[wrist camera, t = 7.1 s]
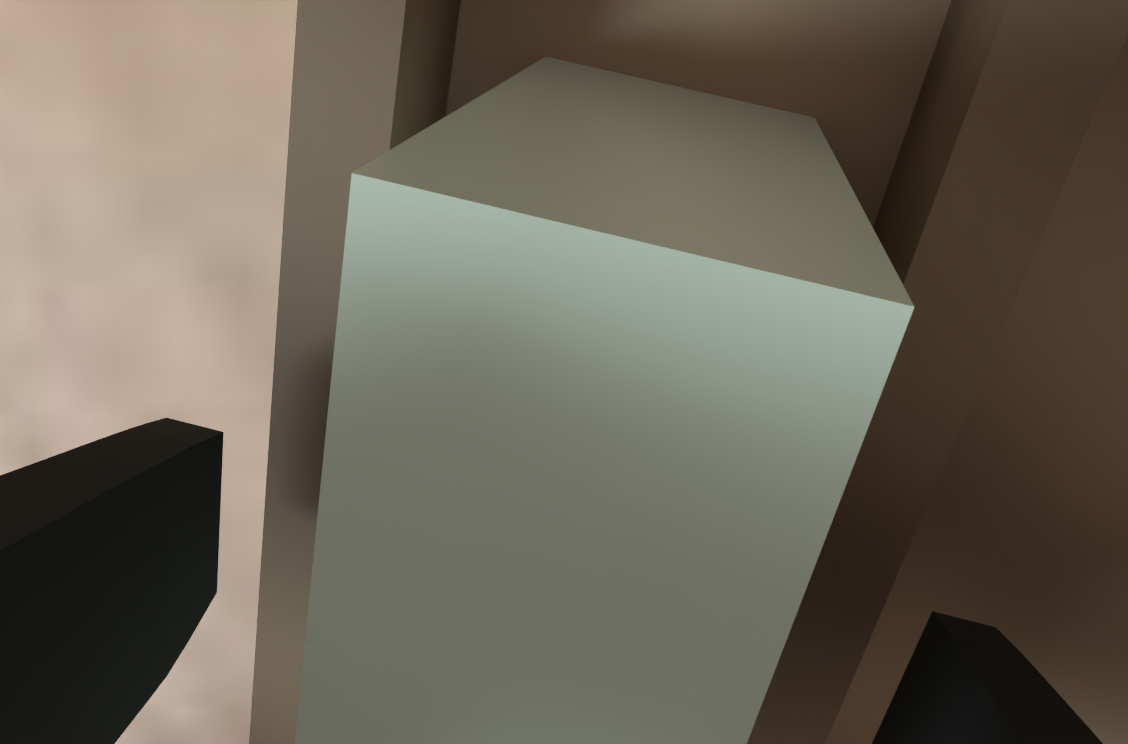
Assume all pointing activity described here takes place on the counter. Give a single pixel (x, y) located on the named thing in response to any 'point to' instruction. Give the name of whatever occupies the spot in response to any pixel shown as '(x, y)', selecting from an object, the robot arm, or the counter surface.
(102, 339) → the counter surface
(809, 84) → the rack
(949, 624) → the robot arm
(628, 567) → the pale green block
